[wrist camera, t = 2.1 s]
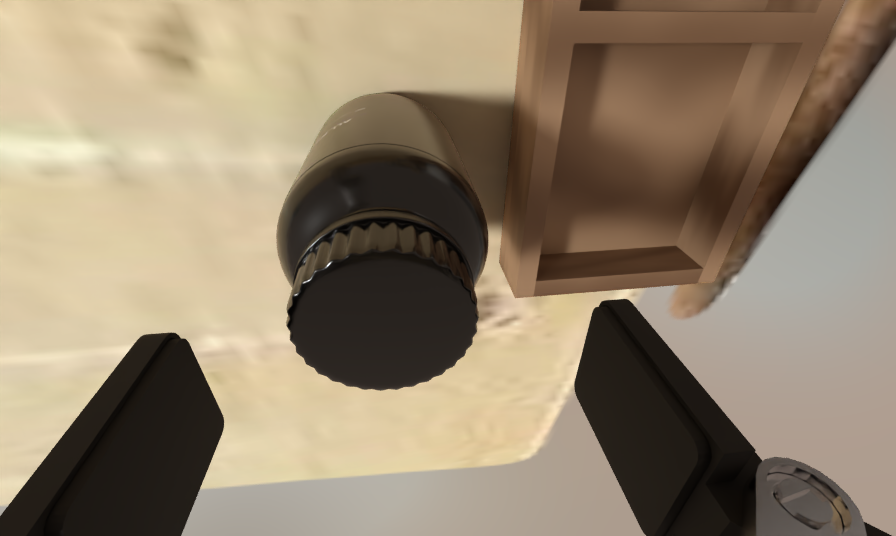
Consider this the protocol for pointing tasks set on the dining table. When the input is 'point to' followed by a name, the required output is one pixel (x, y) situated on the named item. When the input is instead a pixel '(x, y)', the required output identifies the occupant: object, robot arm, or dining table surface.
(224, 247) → the dining table surface
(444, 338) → the supplement bottle
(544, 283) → the caddy
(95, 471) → the robot arm
